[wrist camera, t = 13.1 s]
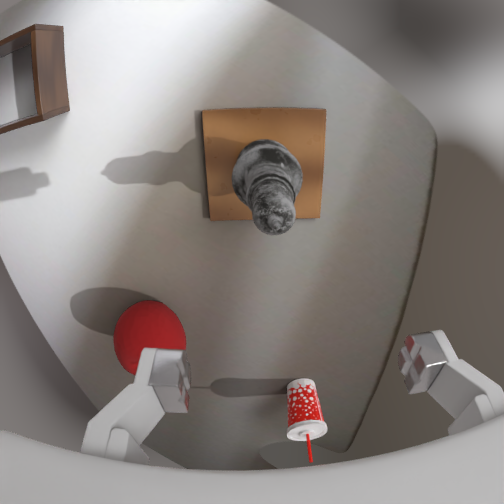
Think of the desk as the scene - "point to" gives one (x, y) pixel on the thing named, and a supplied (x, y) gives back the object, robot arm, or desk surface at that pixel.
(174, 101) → the desk surface
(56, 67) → the open wooden box
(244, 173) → the grey stone turned piece
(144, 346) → the apple
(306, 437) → the beverage cup
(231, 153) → the trivet
